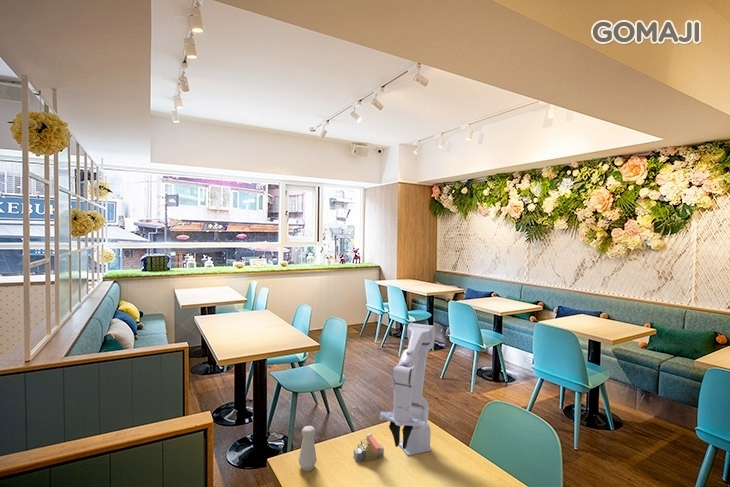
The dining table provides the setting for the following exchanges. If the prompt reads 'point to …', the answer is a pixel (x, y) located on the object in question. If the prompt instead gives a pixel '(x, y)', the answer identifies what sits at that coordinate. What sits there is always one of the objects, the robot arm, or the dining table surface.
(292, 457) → the dining table surface
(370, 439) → the lever
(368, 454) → the valve base
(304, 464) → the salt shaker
